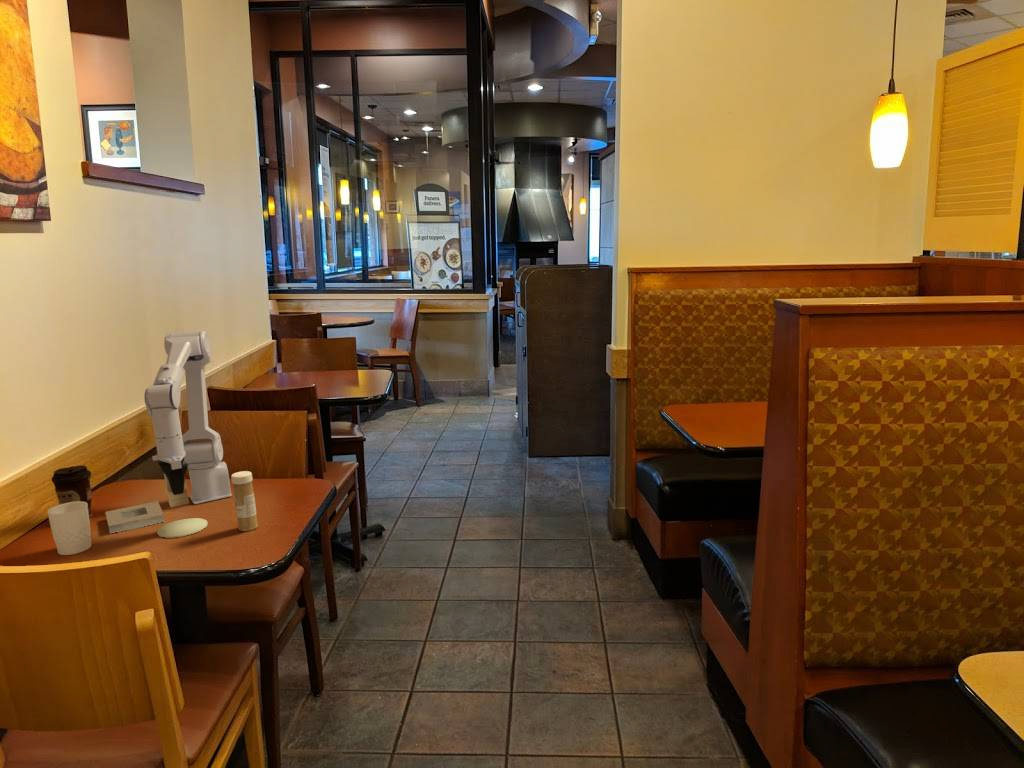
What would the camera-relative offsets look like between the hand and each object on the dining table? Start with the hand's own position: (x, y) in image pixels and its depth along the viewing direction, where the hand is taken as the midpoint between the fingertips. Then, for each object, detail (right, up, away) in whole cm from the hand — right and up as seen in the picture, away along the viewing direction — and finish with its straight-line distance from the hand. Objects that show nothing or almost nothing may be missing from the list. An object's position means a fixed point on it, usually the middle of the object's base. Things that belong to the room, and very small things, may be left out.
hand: (177, 491), depth 179 cm
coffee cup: (-31, -9, +13) cm, 35 cm away
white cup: (-20, -12, -7) cm, 25 cm away
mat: (+1, -9, +2) cm, 9 cm away
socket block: (-14, -9, +9) cm, 19 cm away
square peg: (0, -3, +1) cm, 3 cm away
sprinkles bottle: (+17, -9, 0) cm, 19 cm away
